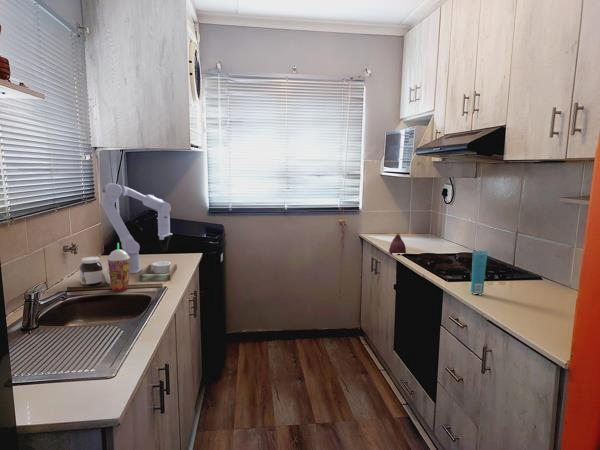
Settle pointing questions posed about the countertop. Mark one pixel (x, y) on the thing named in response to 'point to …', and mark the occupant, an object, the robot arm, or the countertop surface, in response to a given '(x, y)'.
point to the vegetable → (397, 245)
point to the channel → (146, 277)
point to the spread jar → (92, 272)
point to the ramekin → (161, 267)
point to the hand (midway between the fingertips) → (164, 251)
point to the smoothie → (119, 269)
